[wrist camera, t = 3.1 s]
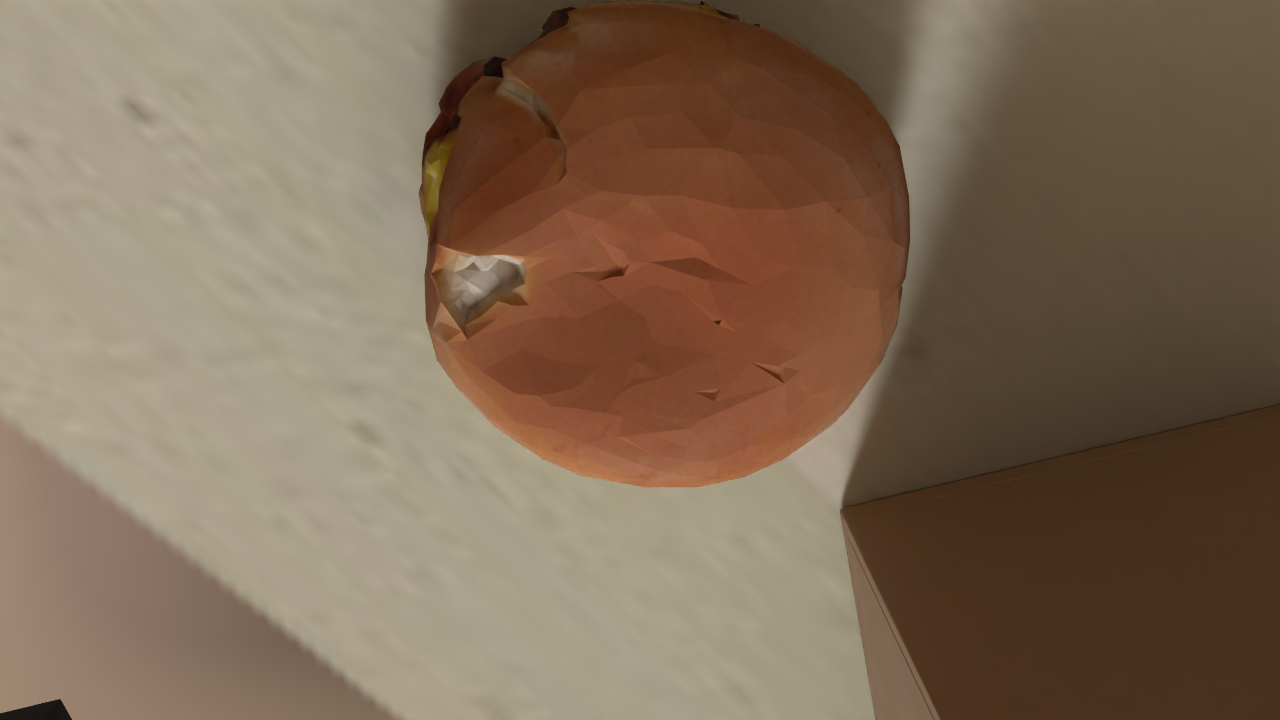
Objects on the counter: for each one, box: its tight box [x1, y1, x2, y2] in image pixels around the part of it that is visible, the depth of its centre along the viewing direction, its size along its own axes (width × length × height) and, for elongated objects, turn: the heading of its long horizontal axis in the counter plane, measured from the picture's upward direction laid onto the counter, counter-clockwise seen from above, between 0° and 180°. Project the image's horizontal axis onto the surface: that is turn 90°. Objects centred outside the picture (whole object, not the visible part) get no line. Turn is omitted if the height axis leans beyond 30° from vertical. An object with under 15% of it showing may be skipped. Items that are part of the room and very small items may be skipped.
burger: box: [419, 1, 910, 487], centre depth 21 cm, size 10×9×5 cm
